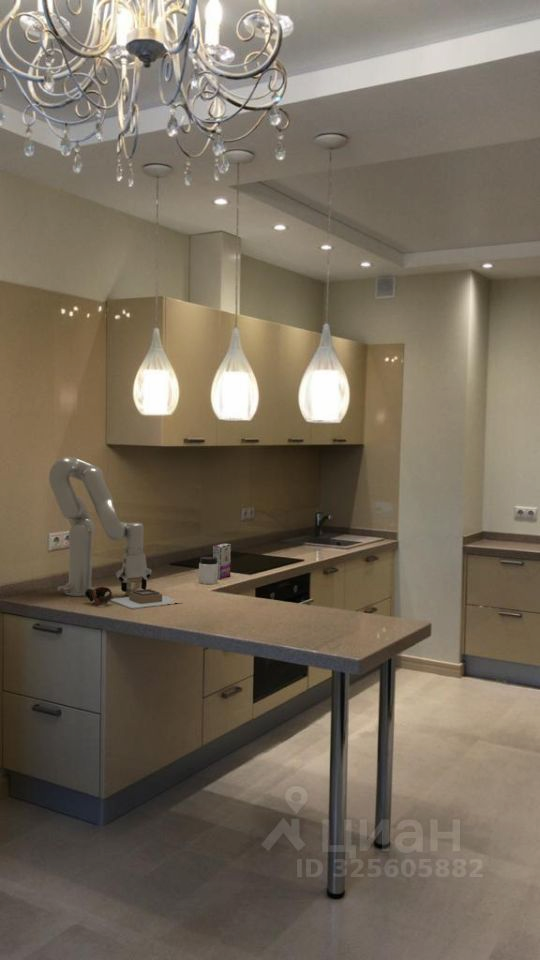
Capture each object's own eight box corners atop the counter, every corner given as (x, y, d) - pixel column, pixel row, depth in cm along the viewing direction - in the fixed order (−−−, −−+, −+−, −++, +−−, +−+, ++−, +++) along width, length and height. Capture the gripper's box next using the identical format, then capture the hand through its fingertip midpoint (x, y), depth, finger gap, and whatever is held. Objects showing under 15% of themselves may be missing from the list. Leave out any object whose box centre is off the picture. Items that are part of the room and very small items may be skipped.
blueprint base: (131, 609, 337) (132, 598, 337) (108, 600, 353) (108, 590, 353) (182, 603, 352) (183, 593, 352) (158, 595, 368) (158, 585, 368)
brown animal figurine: (115, 603, 350) (117, 588, 346) (105, 617, 342) (107, 602, 338) (88, 594, 352) (90, 579, 347) (78, 608, 344) (80, 593, 339)
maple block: (130, 596, 363) (131, 582, 363) (125, 594, 367) (125, 581, 367) (141, 595, 367) (141, 581, 366) (135, 593, 370) (135, 580, 370)
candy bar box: (221, 575, 425) (222, 543, 424) (230, 576, 423) (231, 544, 422) (211, 578, 415) (212, 545, 414) (220, 579, 413) (221, 546, 412)
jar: (211, 584, 398) (212, 559, 397) (196, 583, 401) (196, 558, 400) (219, 582, 406) (220, 557, 405) (204, 580, 409) (205, 556, 408)
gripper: (120, 553, 358) (120, 593, 359) (156, 551, 368) (155, 589, 369) (112, 551, 364) (111, 590, 364) (147, 548, 374) (146, 587, 375)
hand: (133, 590), depth 367 cm, fingers open, 9 cm apart
